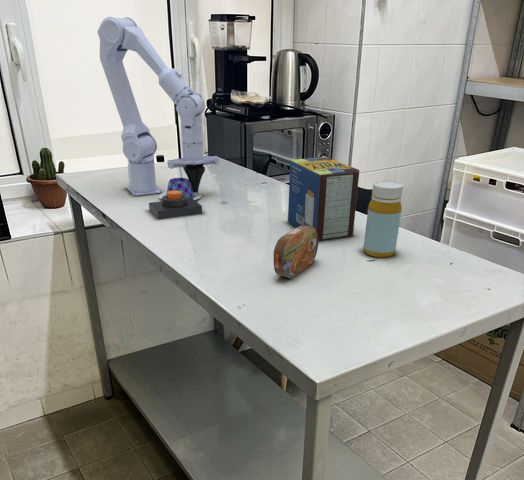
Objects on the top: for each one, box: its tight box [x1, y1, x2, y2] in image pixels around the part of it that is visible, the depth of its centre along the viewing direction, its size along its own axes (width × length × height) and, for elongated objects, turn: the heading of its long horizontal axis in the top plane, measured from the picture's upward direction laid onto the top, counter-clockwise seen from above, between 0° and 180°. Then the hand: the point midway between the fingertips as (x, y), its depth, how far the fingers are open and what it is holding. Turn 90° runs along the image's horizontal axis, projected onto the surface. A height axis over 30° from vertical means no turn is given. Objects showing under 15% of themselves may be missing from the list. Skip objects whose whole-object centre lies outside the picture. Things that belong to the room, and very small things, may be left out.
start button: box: [166, 190, 182, 200], centre depth 141 cm, size 4×4×2 cm
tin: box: [273, 226, 319, 279], centre depth 109 cm, size 15×3×8 cm, turn 148°
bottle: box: [363, 180, 404, 258], centre depth 117 cm, size 7×7×15 cm
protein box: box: [287, 156, 360, 242], centre depth 129 cm, size 10×15×16 cm
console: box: [148, 194, 203, 220], centre depth 142 cm, size 12×8×4 cm, turn 116°
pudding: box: [158, 177, 202, 201], centre depth 153 cm, size 12×12×5 cm
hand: (195, 191), depth 155 cm, fingers closed
